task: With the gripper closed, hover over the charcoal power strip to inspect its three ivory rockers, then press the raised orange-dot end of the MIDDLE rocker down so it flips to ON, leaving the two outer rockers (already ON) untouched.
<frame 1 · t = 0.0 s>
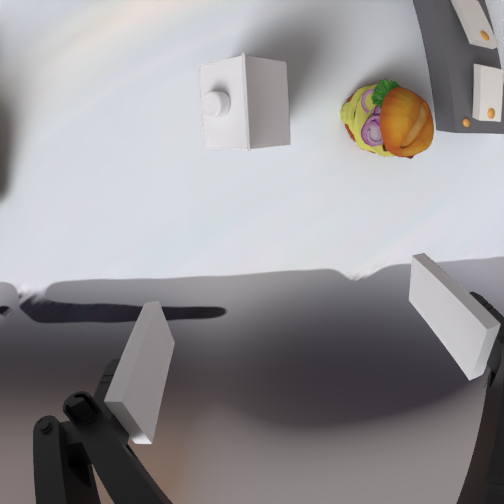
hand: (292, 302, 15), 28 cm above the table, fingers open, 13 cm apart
cheeseburger: (376, 118, 38), on the table
rocker 2: (474, 20, 25), point 7 cm above the table, hinge at -14.0°
power strip: (448, 28, 31), on the table
rocker 3: (488, 93, 29), point 7 cm above the table, hinge at 14.0°
milk carton: (242, 111, 37), on the table
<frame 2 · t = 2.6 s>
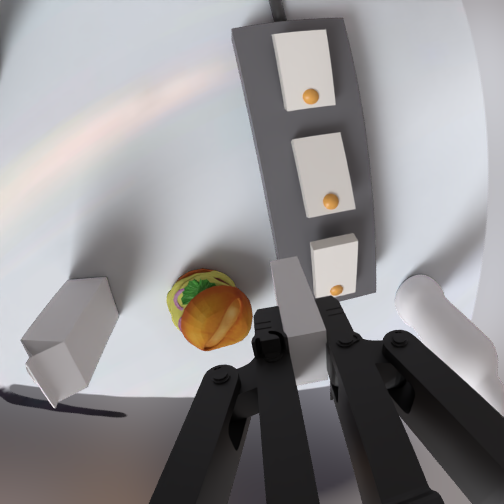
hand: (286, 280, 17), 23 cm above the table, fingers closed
rocker 1: (304, 69, 26), point 7 cm above the table, hinge at 14.0°
cheeseburger: (209, 293, 44), on the table
bottle: (412, 293, 46), on the table
rocker 2: (323, 174, 31), point 7 cm above the table, hinge at -14.0°
power strip: (308, 164, 37), on the table
rocker 3: (334, 269, 35), point 7 cm above the table, hinge at 14.0°
milk carton: (93, 297, 43), on the table
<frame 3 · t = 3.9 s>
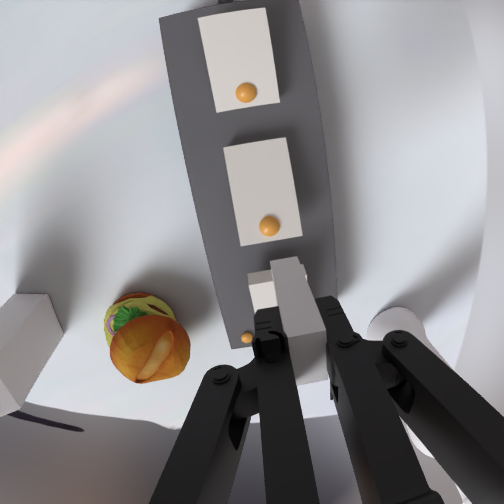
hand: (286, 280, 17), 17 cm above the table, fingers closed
rocker 1: (239, 58, 21), point 7 cm above the table, hinge at 14.0°
cheeseburger: (149, 319, 38), on the table
bottle: (388, 327, 40), on the table
rocker 2: (263, 191, 25), point 7 cm above the table, hinge at -14.0°
power strip: (257, 176, 31), on the table
rocker 3: (280, 305, 30), point 7 cm above the table, hinge at 14.0°
milk carton: (39, 313, 37), on the table
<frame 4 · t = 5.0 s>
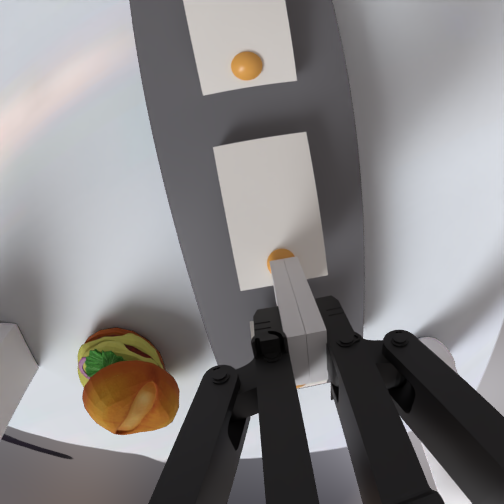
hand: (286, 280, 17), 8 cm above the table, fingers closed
rocker 1: (237, 18, 13), point 7 cm above the table, hinge at 14.0°
cheeseburger: (131, 356, 30), on the table
bottle: (413, 358, 33), on the table
rocker 2: (272, 211, 17), point 7 cm above the table, hinge at -11.8°, touching gripper
power strip: (262, 185, 24), on the table
rocker 3: (293, 357, 22), point 7 cm above the table, hinge at 14.0°
milk carton: (10, 342, 30), on the table
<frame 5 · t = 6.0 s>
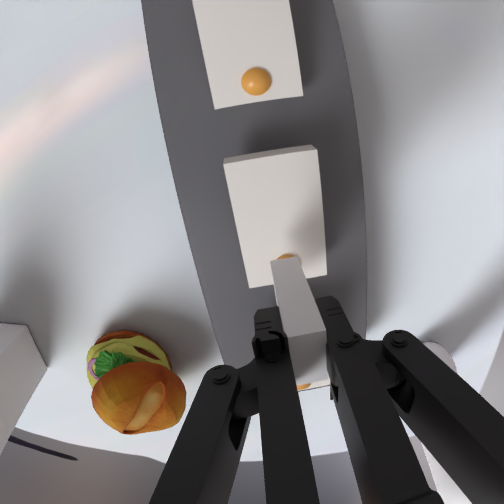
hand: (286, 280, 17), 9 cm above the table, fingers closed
rocker 1: (246, 35, 14), point 7 cm above the table, hinge at 14.0°
cheeseburger: (139, 358, 31), on the table
bottle: (415, 362, 33), on the table
rocker 2: (279, 219, 18), point 7 cm above the table, hinge at 6.6°
power strip: (269, 194, 25), on the table
rocker 3: (298, 359, 23), point 7 cm above the table, hinge at 14.0°
milk carton: (20, 344, 31), on the table
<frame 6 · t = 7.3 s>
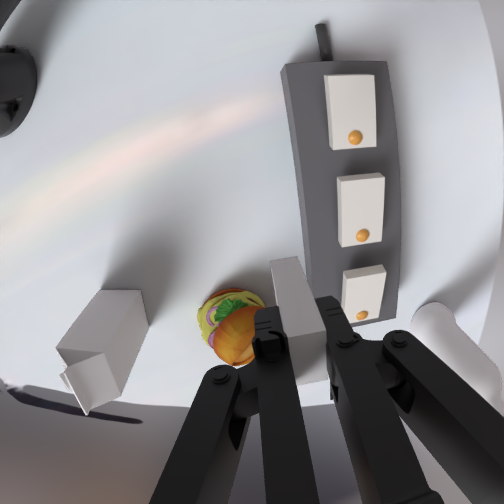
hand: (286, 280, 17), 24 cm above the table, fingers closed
rocker 1: (351, 111, 29), point 7 cm above the table, hinge at 14.0°
cheeseburger: (237, 311, 46), on the table
bottle: (426, 319, 48), on the table
rocker 2: (361, 210, 33), point 7 cm above the table, hinge at 11.3°
power strip: (343, 197, 40), on the table
rocker 3: (362, 296, 37), point 7 cm above the table, hinge at 14.0°
milk carton: (124, 308, 46), on the table
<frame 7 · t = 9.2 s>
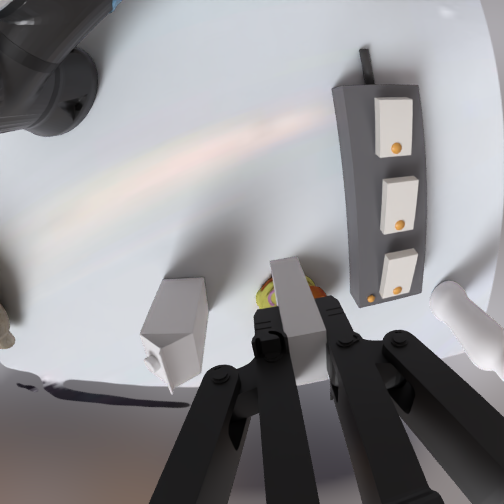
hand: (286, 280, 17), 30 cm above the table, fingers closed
rocker 1: (394, 127, 36), point 7 cm above the table, hinge at 14.0°
cheeseburger: (289, 292, 53), on the table
bottle: (442, 295, 55), on the table
rocker 2: (399, 205, 40), point 7 cm above the table, hinge at 12.5°
power strip: (380, 193, 47), on the table
rocker 3: (398, 274, 45), point 7 cm above the table, hinge at 14.0°
milk carton: (186, 295, 53), on the table
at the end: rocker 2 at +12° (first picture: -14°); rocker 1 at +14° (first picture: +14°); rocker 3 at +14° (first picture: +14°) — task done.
